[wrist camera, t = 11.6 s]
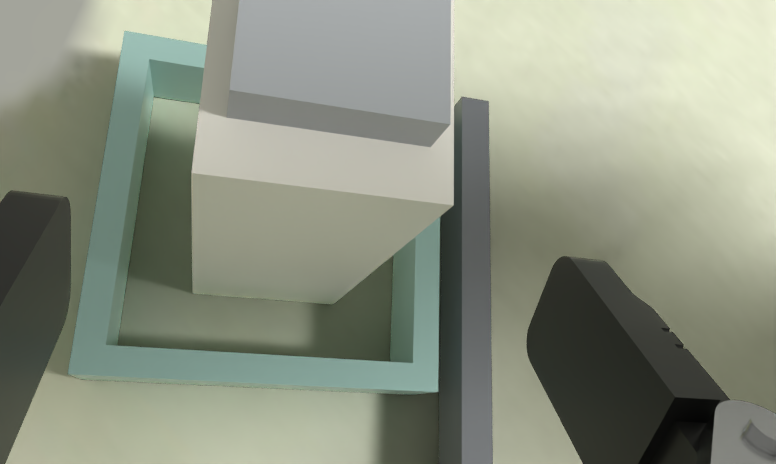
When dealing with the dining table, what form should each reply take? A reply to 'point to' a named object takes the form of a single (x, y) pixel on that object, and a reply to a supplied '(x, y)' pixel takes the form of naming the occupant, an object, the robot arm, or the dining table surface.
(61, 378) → the dining table surface
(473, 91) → the dining table surface
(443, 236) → the panel
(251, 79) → the plug
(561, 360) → the robot arm
